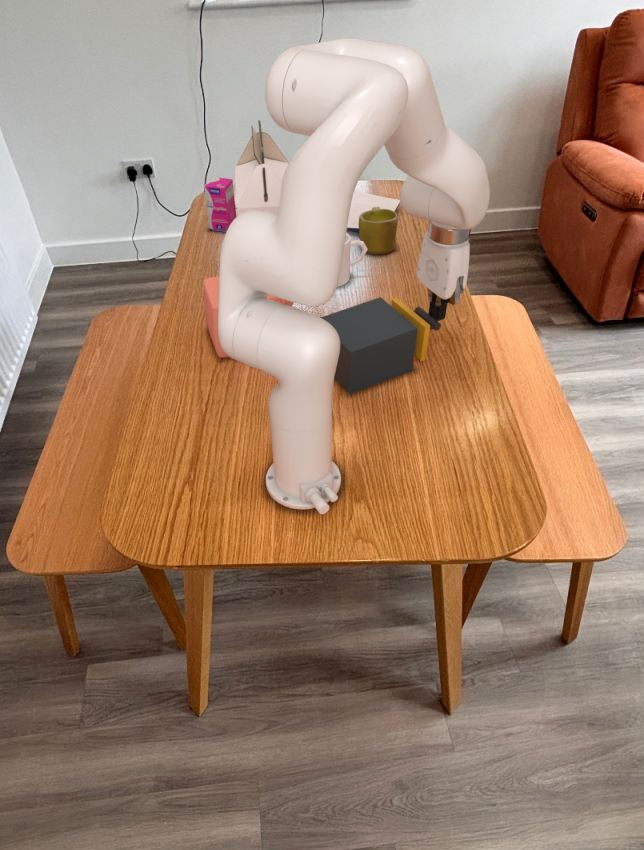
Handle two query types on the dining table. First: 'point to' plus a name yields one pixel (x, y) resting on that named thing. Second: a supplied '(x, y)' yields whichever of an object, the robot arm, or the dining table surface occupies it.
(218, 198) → the supplement box
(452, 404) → the dining table surface
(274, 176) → the paper bag
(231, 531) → the dining table surface
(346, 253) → the mug
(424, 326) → the yellow drawer
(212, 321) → the teapot
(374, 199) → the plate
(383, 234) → the mug
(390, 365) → the cabinet
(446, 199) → the robot arm
